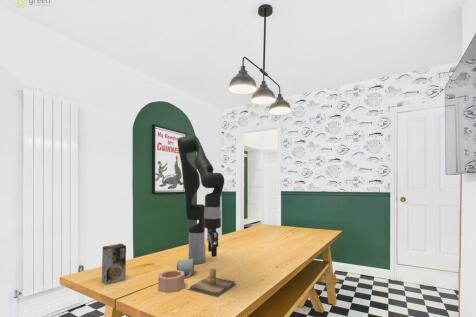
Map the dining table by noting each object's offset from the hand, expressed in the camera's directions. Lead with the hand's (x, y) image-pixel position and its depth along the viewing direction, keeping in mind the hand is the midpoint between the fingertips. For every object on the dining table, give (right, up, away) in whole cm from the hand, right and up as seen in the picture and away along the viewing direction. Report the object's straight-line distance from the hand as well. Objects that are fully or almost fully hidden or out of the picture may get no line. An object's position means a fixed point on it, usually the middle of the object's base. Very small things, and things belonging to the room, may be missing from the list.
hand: (212, 253), depth 120 cm
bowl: (-18, -15, -1) cm, 23 cm away
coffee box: (-48, -16, +9) cm, 51 cm away
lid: (0, -14, -1) cm, 14 cm away
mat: (0, -15, -1) cm, 15 cm away
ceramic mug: (-15, -16, +14) cm, 26 cm away
